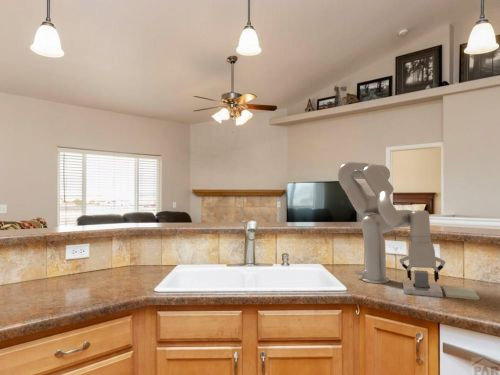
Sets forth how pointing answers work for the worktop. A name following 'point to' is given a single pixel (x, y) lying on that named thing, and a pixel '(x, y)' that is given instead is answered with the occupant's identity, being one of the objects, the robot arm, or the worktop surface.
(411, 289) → the socket plate
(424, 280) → the block
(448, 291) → the board
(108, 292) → the worktop surface
